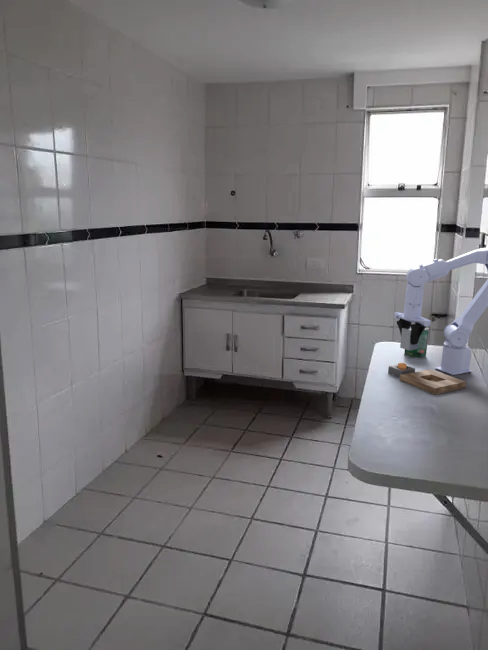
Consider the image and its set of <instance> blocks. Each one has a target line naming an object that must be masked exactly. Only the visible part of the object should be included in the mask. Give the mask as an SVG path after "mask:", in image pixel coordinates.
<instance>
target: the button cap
mask: <svg viewBox="0 0 488 650" xmlns="http://www.w3.org/2000/svg"><path fill="white" fill-rule="evenodd" d="M407 364H408V363H405V362H398V363H397V365H398V368H400V369H406V367H407V366H408V365H407Z"/></svg>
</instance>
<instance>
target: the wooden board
mask: <svg viewBox="0 0 488 650" xmlns="http://www.w3.org/2000/svg"><path fill="white" fill-rule="evenodd" d="M401 381H402V383H403V384H406V383H407V385H409V386H412V387H414V388H418V389H419V390H421V391H425V392H427V393H430V394H432V395H439V394H443V393H447V392H452V391H457V390H461V389H465V388H466V387H467V386H466V384H467V381H466V380H462V379H459V378H456V377H453V376H450V375H448V374H445V373H442V372H439V371H436V370H434V369H425V370H418V371H415V372H413V373H408V374H402V375H400V378H399V382H401Z"/></svg>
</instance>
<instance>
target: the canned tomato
mask: <svg viewBox="0 0 488 650" xmlns="http://www.w3.org/2000/svg"><path fill="white" fill-rule="evenodd" d="M410 327H411V326H410ZM429 332H430V328H429V326H427V327H426V328H425V329H424V331H423V332H422V334H421V336H420V338H419V341H418V346H417V349H415V350H406V349H404V353H403V355H404V356H405V357H407V358H411V359H415V358H417V360H418V359H419V360H423V359H426V358H427V349H428V340H429Z"/></svg>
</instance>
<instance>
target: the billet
mask: <svg viewBox="0 0 488 650" xmlns="http://www.w3.org/2000/svg"><path fill="white" fill-rule="evenodd" d="M411 340H412V330H411V327H405V328H402V334H400V344H399V345H400V347H399V348H400V349H403V350H405V349H406V350H415V349H417V346H418V343H417V344H415V345H413V344H412V342H411Z"/></svg>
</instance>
